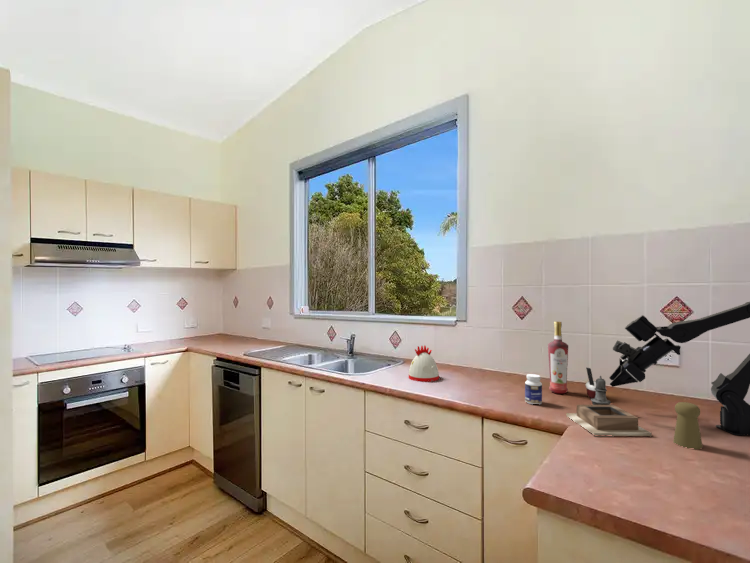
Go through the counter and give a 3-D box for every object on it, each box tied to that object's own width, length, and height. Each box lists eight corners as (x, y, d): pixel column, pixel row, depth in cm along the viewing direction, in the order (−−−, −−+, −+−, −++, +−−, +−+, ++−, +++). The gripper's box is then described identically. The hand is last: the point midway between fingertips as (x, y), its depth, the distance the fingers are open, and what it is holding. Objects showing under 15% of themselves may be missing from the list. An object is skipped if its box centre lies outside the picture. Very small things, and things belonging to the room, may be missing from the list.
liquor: (550, 394, 145) (549, 322, 146) (546, 389, 153) (545, 320, 153) (571, 395, 144) (570, 322, 144) (566, 390, 151) (565, 321, 151)
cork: (673, 437, 104) (673, 398, 104) (702, 443, 100) (701, 402, 100) (673, 445, 99) (672, 403, 99) (703, 451, 96) (702, 408, 96)
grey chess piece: (614, 414, 123) (613, 378, 123) (594, 413, 124) (594, 377, 124) (606, 408, 128) (606, 374, 128) (588, 407, 129) (587, 373, 130)
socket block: (651, 436, 105) (651, 420, 105) (594, 436, 105) (593, 420, 105) (616, 416, 121) (616, 402, 121) (566, 416, 121) (566, 402, 121)
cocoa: (600, 396, 143) (600, 365, 144) (612, 401, 137) (612, 368, 138) (577, 396, 142) (577, 365, 143) (589, 401, 136) (589, 368, 136)
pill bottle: (532, 405, 132) (531, 377, 132) (521, 401, 137) (521, 374, 137) (545, 404, 133) (545, 376, 134) (534, 399, 139) (534, 372, 139)
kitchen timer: (404, 375, 177) (404, 344, 177) (430, 373, 181) (430, 342, 181) (416, 383, 164) (415, 348, 164) (444, 380, 168) (443, 347, 168)
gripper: (628, 330, 130) (591, 358, 136) (631, 336, 114) (590, 368, 120) (656, 355, 126) (617, 383, 131) (664, 365, 110) (619, 397, 115)
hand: (610, 382), depth 125 cm, fingers open, 9 cm apart
